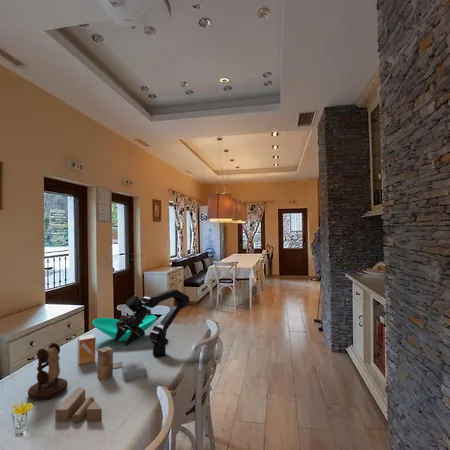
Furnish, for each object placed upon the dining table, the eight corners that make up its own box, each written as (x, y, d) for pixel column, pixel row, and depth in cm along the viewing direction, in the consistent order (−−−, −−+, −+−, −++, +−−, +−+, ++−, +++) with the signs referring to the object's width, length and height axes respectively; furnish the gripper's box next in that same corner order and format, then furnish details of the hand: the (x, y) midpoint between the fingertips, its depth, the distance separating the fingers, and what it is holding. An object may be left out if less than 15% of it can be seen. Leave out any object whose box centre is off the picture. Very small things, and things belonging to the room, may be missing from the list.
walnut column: (107, 373, 148) (107, 346, 148) (112, 376, 145) (113, 348, 145) (97, 376, 144) (97, 349, 144) (102, 380, 141) (103, 352, 141)
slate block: (142, 368, 154) (142, 360, 154) (145, 376, 145) (145, 368, 145) (122, 371, 150) (122, 363, 150) (123, 380, 141) (123, 372, 141)
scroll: (50, 403, 122) (51, 353, 122) (18, 399, 124) (19, 351, 125) (74, 385, 136) (75, 340, 137) (46, 382, 139) (47, 338, 139)
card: (122, 362, 160) (122, 361, 160) (123, 367, 154) (123, 366, 154) (106, 365, 157) (106, 364, 157) (106, 369, 151) (106, 369, 151)
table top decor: (157, 330, 212) (157, 311, 213) (156, 345, 185) (156, 323, 186) (97, 334, 204) (97, 314, 205) (87, 350, 177) (87, 327, 178)
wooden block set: (53, 408, 109) (77, 384, 127) (53, 424, 109) (77, 397, 127) (100, 408, 109) (117, 383, 127) (100, 424, 109) (117, 397, 127)
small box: (78, 365, 156) (79, 340, 157) (77, 361, 162) (77, 336, 162) (95, 361, 161) (95, 337, 161) (93, 357, 166) (93, 334, 167)
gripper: (119, 305, 161) (99, 331, 152) (140, 311, 150) (120, 339, 141) (131, 317, 167) (113, 342, 158) (152, 323, 156) (134, 351, 147)
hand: (119, 343), depth 151 cm, fingers open, 9 cm apart
